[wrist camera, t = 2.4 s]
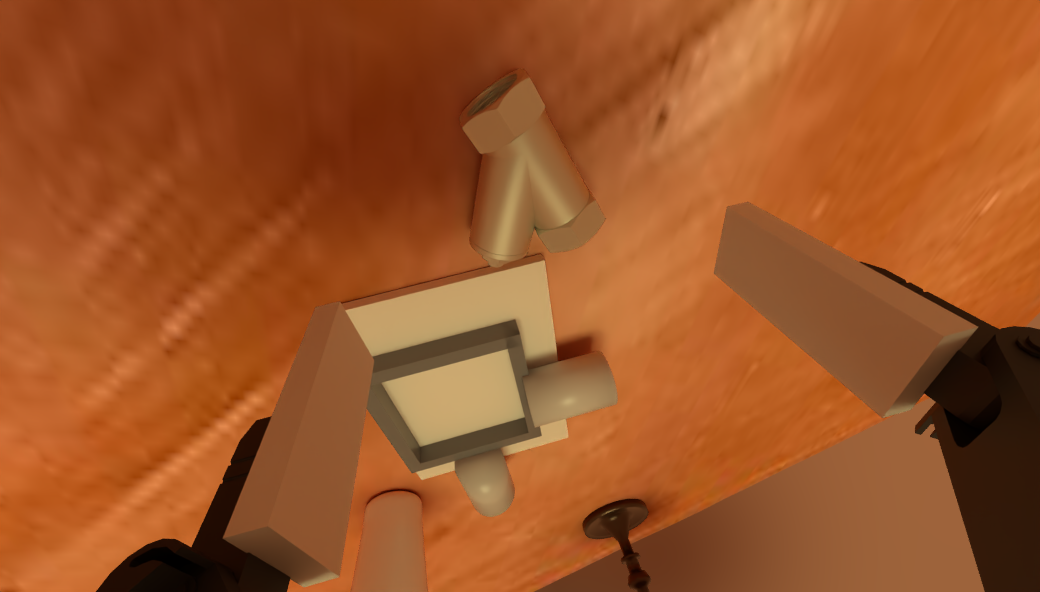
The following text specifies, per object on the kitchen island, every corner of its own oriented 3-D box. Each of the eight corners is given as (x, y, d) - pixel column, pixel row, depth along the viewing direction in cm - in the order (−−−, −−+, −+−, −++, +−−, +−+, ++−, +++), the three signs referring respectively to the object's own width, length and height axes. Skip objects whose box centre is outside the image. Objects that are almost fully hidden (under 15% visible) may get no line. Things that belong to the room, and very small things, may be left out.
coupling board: (314, 310, 22) (293, 370, 18) (587, 242, 23) (619, 284, 19) (428, 481, 36) (428, 536, 32) (596, 432, 37) (616, 479, 33)
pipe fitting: (495, 257, 23) (590, 197, 22) (502, 296, 20) (613, 229, 19) (404, 149, 18) (517, 62, 17) (395, 179, 15) (531, 77, 14)
